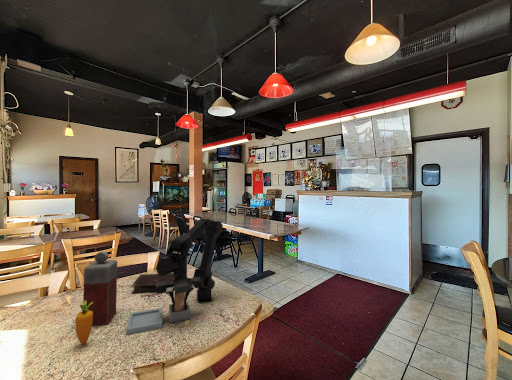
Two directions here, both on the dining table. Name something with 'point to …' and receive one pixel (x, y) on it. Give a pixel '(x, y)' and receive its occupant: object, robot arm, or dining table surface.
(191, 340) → the dining table surface
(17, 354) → the dining table surface
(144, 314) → the slate tray
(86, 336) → the carrot
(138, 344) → the dining table surface
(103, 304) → the dark red canister
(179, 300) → the dowel pin
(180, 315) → the grey square bin
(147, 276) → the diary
